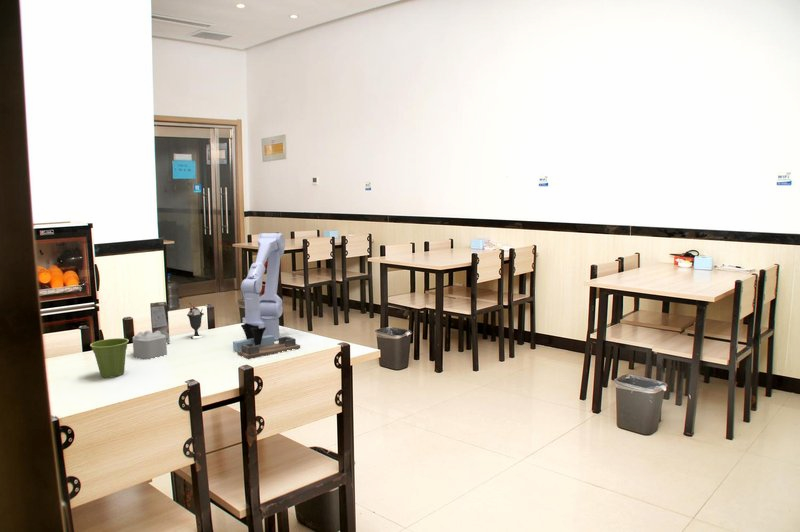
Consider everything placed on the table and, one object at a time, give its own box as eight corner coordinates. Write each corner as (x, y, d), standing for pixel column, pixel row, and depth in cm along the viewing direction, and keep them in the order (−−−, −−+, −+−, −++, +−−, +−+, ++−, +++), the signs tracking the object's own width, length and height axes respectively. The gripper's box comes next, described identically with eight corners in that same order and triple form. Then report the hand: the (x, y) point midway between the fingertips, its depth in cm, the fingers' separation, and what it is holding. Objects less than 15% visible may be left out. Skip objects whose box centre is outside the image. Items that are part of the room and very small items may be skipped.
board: (237, 354, 229) (236, 344, 229) (288, 344, 243) (288, 335, 243) (248, 359, 222) (247, 349, 222) (300, 348, 236) (300, 339, 236)
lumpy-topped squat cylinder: (144, 360, 222) (142, 337, 221) (127, 354, 231) (125, 332, 230) (170, 354, 230) (169, 332, 229) (153, 349, 239) (152, 327, 237)
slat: (233, 351, 234) (232, 341, 233) (270, 344, 244) (270, 334, 244) (236, 353, 232) (236, 343, 231) (274, 346, 242) (274, 336, 241)
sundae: (184, 338, 255) (182, 303, 253) (196, 335, 261) (194, 300, 259) (196, 340, 252) (194, 304, 250) (208, 336, 258) (206, 301, 256)
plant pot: (120, 367, 214) (118, 336, 212) (137, 373, 206) (135, 341, 205) (86, 375, 204) (83, 343, 203) (102, 382, 197) (99, 348, 196)
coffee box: (170, 343, 246) (167, 305, 244) (153, 345, 244) (150, 306, 242) (168, 339, 254) (166, 301, 252) (152, 340, 252) (149, 302, 250)
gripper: (234, 307, 239) (236, 341, 240) (251, 313, 228) (253, 348, 230) (251, 305, 243) (252, 338, 245) (268, 310, 232) (270, 345, 234)
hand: (254, 343), depth 238 cm, fingers open, 6 cm apart
